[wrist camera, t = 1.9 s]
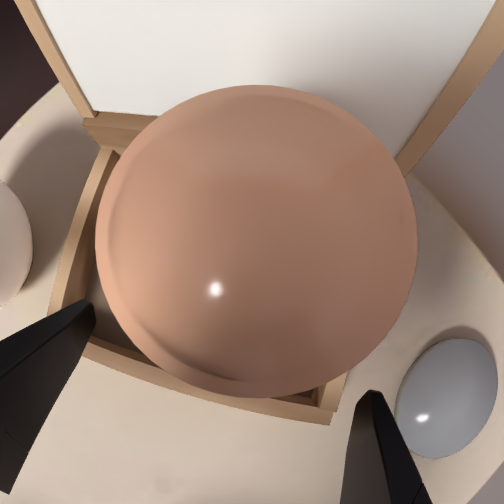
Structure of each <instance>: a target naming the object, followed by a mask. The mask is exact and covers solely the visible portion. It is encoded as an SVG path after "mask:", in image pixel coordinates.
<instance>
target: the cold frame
mask: <svg viewBox="0 0 504 504" xmlns="http://www.w3.org/2000/svg"><path fill="white" fill-rule="evenodd" d="M157 118H158V117H155V116H145V115H135V114H124V113H111V112H98V113H97V115H96V116H95V118H86V117H85V119H84V121H83V123H82V126H83V127H84V128H85V130H86V131H87V132H88V133H89V134H90V136H91V137H92V138H93V139H94V140H95V142H96V143H97V144H98V145H99V146H100V147H101V148H100V151H99V153H98V155H97V157H96V160H95V162H94V165H93V167H92V169H91V172H90V174H89V177H88V179H87V182H86V184H85V187H84V190H83V192H82V195H81V198H80V200H79V203H78V206H77V209H76V212H75V215H74V217H73V220H72V223H71V226H70V229H69V233H68V236H67V239H66V242H65V246H64V249H63V252H62V256H61V259H60V263H59V266H58V270H57V274H56V278H55V282H54V286H53V290H52V294H51V298H50V303H49V307H48V312H47V316H49V315H51V314H53V313H55V312H57V311H59V310H61V309H63V308H65V307H67V306H69V305H71V304H73V303H75V302H77V301H79V300H81V299H84V300H87V301H89V302H91V303H93V305H94V309H95V314H96V320H97V321H96V326H95V328H94V330H93V332H92V334H91V336H90V338H89V341H88V343H87V345H86V347H85V349H84V351H83V354H82V356H83V357H85V358H88V359H90V360H92V361H95V362H97V363H100V364H102V365H105V366H107V367H110V368H112V369H115V370H117V371H120V372H122V373H125V374H128V375H130V376H133V377H136V378H139V379H141V380H144V381H147V382H150V383H153V384H156V385H159V386H162V387H165V388H168V389H171V390H174V391H177V392H180V393H184V394H187V395H190V396H194V397H197V398H201V399H204V400H208V401H212V402H215V403H219V404H223V405H227V406H231V407H235V408H239V409H243V410H247V411H252V412H256V413H261V414H266V415H270V416H275V417H281V418H286V419H291V420H297V421H303V422H309V423H315V424H322V425H330V422H331V419H332V416H333V412H337V408H338V405H339V401H340V398H341V395H342V391H343V387H344V384H345V380H346V377H347V373H348V371H347V372H346V373H344V374H342V375H340V376H339V377H337V378H335V379H334V380H332V381H330V382H328V383H325V384H323V385H321V386H318V387H316V388H313V389H311V390H308V391H304V392H300V393H296V394H292V395H288V396H283V397H273V398H262V399H259V398H238V397H232V396H227V395H221V394H216V393H212V392H209V391H206V390H204V389H201V388H198V387H195V386H192V385H190V384H188V383H186V382H184V381H182V380H180V379H178V378H176V377H174V376H173V375H171V374H169V373H168V372H166V371H165V370H164V369H162V368H161V367H159V366H158V365H157V364H155V363H154V362H152V361H151V360H150V359H149V358H148V357H147V356H146V355H145V354H144V353H143V352H142V351H141V350H140V349H139V348H138V347H137V346H136V345H135V344H134V343H133V342H132V340H131V339H130V338H129V337H128V335H127V334H126V333H125V332H124V330H123V329H122V328H121V326H120V324H119V323H118V321H117V319H116V317H115V316H114V314H113V312H112V310H111V309H110V306H109V304H108V301H107V299H106V296H105V294H104V291H103V289H102V285H101V281H100V277H99V273H98V269H97V261H96V251H95V233H96V222H97V216H98V210H99V205H100V202H101V198H102V195H103V192H104V189H105V186H106V184H107V182H108V179H109V177H110V175H111V173H112V171H113V169H114V167H115V165H116V164H117V162H118V160H119V159H120V157H121V156H122V154H123V153H124V151H125V150H126V149H127V147H128V146H129V145H130V144H131V142H132V141H133V140H134V139H135V138H136V137H137V136H138V135H139V134H140V133H141V132H142V131H143V130H144V129H145V128H146V127H147V126H148V125H149V124H150V123H151V122H153V121H154V120H155V119H157Z"/></svg>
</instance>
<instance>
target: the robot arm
mask: <svg viewBox="0 0 504 504" xmlns="http://www.w3.org/2000/svg"><path fill="white" fill-rule="evenodd" d="M96 321H97V320H96V314H95V309H94V305H93V303H91V302H89V301H87V300H84V299H81V300H79V301H77V302H75V303H73V304H71V305H69V306H67V307H65V308H63V309H61V310H59V311H57V312H55V313H53V314H51V315H49V316H47V317H45V318H43V319H41V320H39V321H37V322H35V323H34V324H32V325H30V326H28V327H26V328H24V329H22V330H20V331H18V332H16V333H14V334H13V335H11V336H9V337H7V338H5V339H3V340H1V341H0V491H2V492H4V493H6V494H8V495H9V494H10V492H11V490H12V487H13V485H14V483H15V481H16V479H17V476H18V474H19V472H20V470H21V468H22V466H23V464H24V462H25V460H26V458H27V456H28V452H29V451H30V449H31V447H32V445H33V443H34V441H35V439H36V437H37V435H38V433H39V432H40V430H41V428H42V426H43V424H44V422H45V420H46V418H47V417H48V415H49V413H50V411H51V409H52V407H53V406H54V404H55V402H56V400H57V398H58V397H59V395H60V393H61V391H62V390H63V388H64V386H65V384H66V383H67V381H68V379H69V377H70V376H71V374H72V372H73V371H74V369H75V367H76V366H77V364H78V362H79V360H80V358H81V356H82V354H83V351H84V349H85V347H86V345H87V343H88V341H89V338H90V336H91V334H92V332H93V330H94V328H95V326H96ZM340 504H432V501H431V499H430V497H429V495H428V493H427V490H426V488H425V486H424V483H422V479H421V476H420V474H419V472H418V470H417V467H416V465H415V463H414V461H413V458H412V456H411V454H410V452H409V449H408V447H407V445H406V443H405V441H404V438H403V436H402V434H401V432H400V430H399V428H398V425H397V423H396V421H395V419H394V417H393V415H392V413H391V411H390V408H389V406H388V404H387V402H386V400H385V398H384V396H383V394H382V393H381V392H380V391H376V390H368V391H367V392H366V393H365V394H364V395H363V396H362V398H361V399H360V400H359V401H358V402H357V404H356V407H355V411H354V416H353V422H352V426H351V431H350V436H349V441H348V446H347V451H346V460H345V469H344V477H343V484H342V492H341V499H340Z"/></svg>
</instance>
